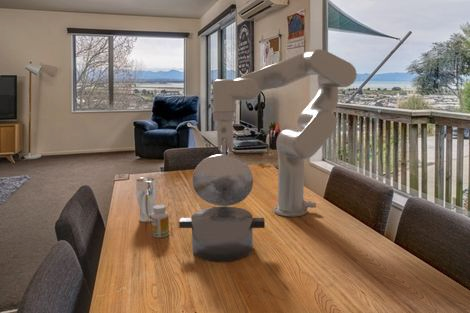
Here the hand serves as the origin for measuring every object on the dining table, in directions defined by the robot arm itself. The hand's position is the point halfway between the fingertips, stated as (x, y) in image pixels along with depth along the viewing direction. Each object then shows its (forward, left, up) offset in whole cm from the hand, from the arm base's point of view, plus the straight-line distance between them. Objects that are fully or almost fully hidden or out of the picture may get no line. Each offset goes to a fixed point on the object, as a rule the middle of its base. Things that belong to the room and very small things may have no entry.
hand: (225, 169), depth 130 cm
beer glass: (+29, -2, -19) cm, 35 cm away
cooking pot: (0, +22, -19) cm, 29 cm away
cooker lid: (0, +16, 0) cm, 16 cm away
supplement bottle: (+21, +12, -19) cm, 31 cm away
